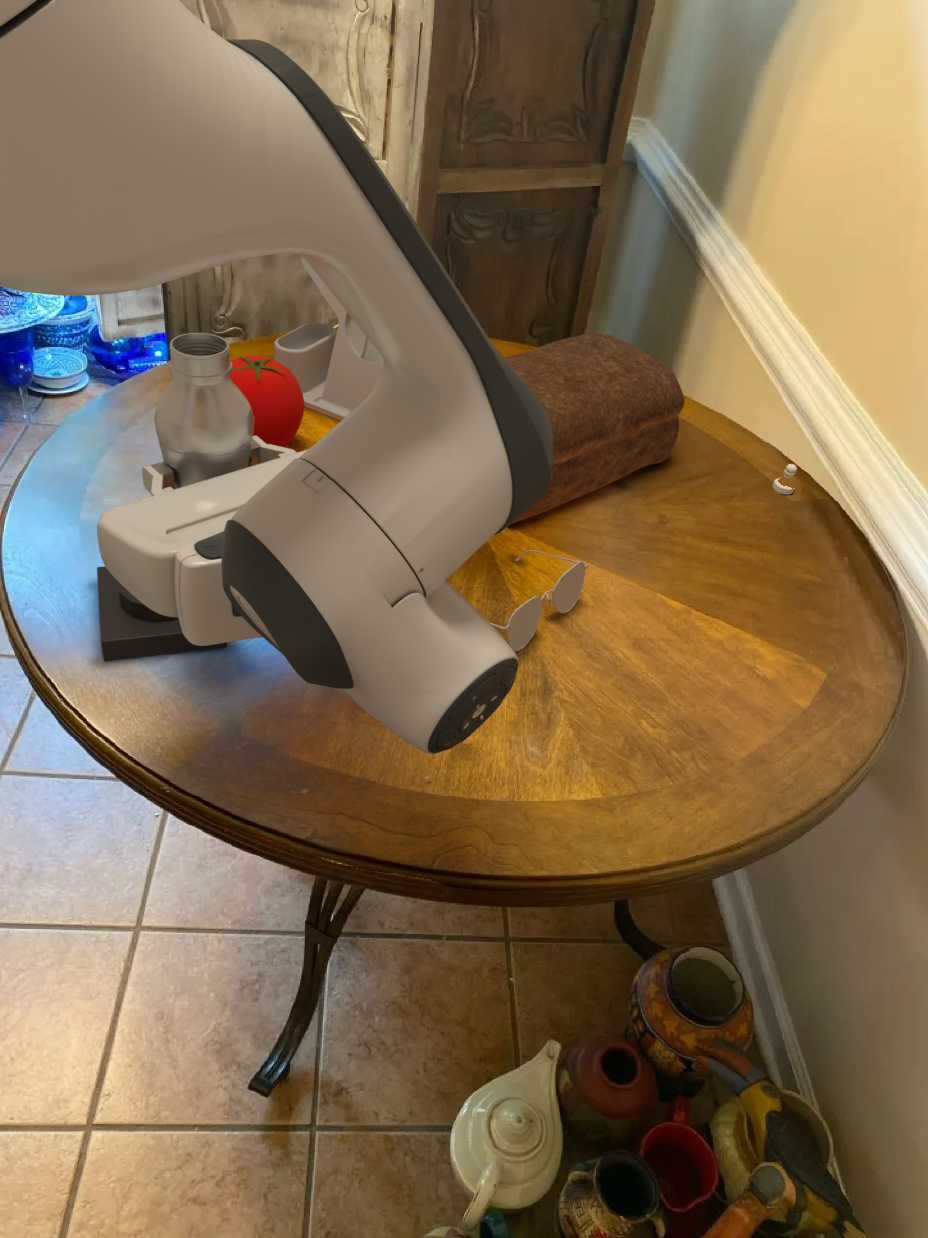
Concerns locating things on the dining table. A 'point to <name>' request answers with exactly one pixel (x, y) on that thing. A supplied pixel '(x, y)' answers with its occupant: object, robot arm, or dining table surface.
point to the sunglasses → (529, 612)
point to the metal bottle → (203, 412)
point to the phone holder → (330, 360)
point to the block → (136, 624)
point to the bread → (600, 411)
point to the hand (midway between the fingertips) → (199, 459)
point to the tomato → (270, 397)
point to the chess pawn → (789, 472)
